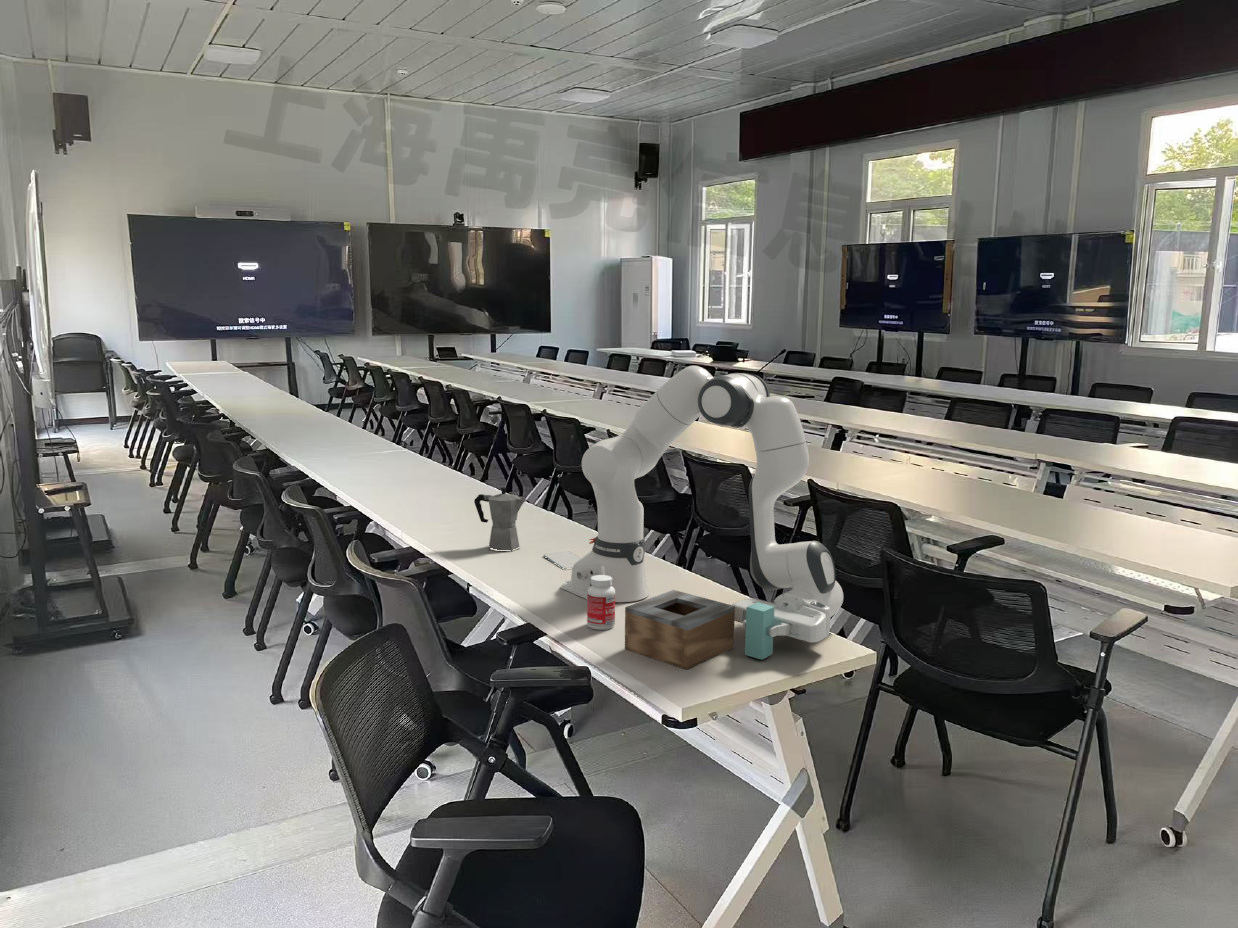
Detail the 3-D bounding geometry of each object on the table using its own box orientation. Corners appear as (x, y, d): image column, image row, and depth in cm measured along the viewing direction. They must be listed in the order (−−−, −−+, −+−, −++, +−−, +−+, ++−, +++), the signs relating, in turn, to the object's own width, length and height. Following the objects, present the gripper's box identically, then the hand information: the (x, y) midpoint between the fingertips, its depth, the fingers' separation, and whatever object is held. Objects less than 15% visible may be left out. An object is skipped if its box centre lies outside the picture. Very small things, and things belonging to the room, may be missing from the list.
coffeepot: (530, 545, 270) (530, 485, 267) (521, 553, 261) (521, 491, 258) (480, 542, 273) (479, 483, 270) (469, 550, 264) (468, 489, 261)
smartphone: (563, 568, 245) (542, 554, 258) (563, 572, 245) (542, 557, 258) (592, 565, 249) (569, 550, 262) (592, 568, 249) (569, 554, 262)
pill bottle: (608, 632, 199) (609, 583, 197) (582, 628, 201) (582, 579, 199) (619, 623, 204) (619, 575, 202) (593, 619, 206) (594, 572, 205)
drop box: (624, 649, 189) (625, 607, 187) (672, 629, 201) (673, 589, 199) (686, 669, 179) (687, 625, 177) (733, 647, 190) (734, 605, 189)
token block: (744, 654, 185) (746, 606, 183) (755, 649, 188) (757, 602, 186) (761, 659, 182) (763, 611, 181) (772, 654, 185) (774, 606, 184)
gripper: (752, 587, 200) (715, 602, 190) (837, 609, 187) (802, 626, 176) (751, 615, 201) (714, 631, 191) (835, 638, 188) (800, 657, 178)
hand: (757, 629), depth 183 cm, fingers closed on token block, 4 cm apart
